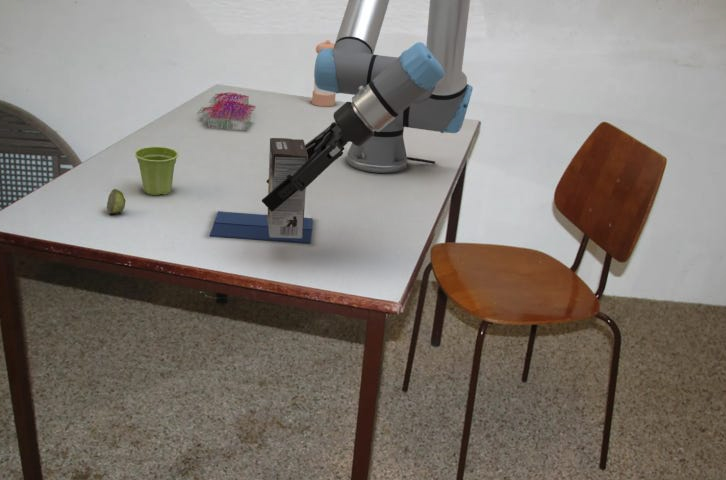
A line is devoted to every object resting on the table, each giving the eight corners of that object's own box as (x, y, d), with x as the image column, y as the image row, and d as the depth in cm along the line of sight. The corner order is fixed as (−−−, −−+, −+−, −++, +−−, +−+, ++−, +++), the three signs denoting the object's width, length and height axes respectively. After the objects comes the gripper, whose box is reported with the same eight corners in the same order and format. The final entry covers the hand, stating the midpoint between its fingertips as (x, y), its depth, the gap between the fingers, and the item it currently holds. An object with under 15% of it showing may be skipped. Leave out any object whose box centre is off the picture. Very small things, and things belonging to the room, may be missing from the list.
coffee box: (266, 218, 154) (269, 137, 146) (299, 219, 154) (304, 138, 146) (268, 238, 146) (271, 152, 138) (303, 238, 147) (308, 153, 139)
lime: (116, 218, 163) (115, 195, 161) (99, 212, 165) (97, 189, 163) (131, 212, 166) (130, 189, 164) (114, 206, 168) (113, 184, 166)
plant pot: (186, 187, 181) (185, 150, 176) (166, 201, 173) (165, 162, 168) (149, 180, 183) (148, 144, 179) (128, 194, 175) (126, 155, 171)
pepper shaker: (310, 105, 249) (314, 41, 240) (313, 99, 256) (317, 37, 246) (333, 107, 249) (338, 43, 239) (336, 101, 255) (341, 39, 245)
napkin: (312, 220, 168) (312, 218, 168) (310, 243, 158) (310, 241, 158) (218, 213, 169) (218, 211, 168) (209, 236, 158) (209, 233, 158)
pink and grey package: (213, 100, 247) (213, 83, 244) (261, 105, 246) (262, 88, 243) (191, 127, 221) (190, 109, 218) (244, 132, 220) (245, 114, 217)
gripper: (348, 85, 147) (260, 161, 155) (349, 117, 128) (248, 203, 136) (374, 115, 150) (286, 189, 158) (378, 152, 131) (278, 233, 139)
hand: (269, 195), depth 147 cm, fingers closed on coffee box, 9 cm apart
